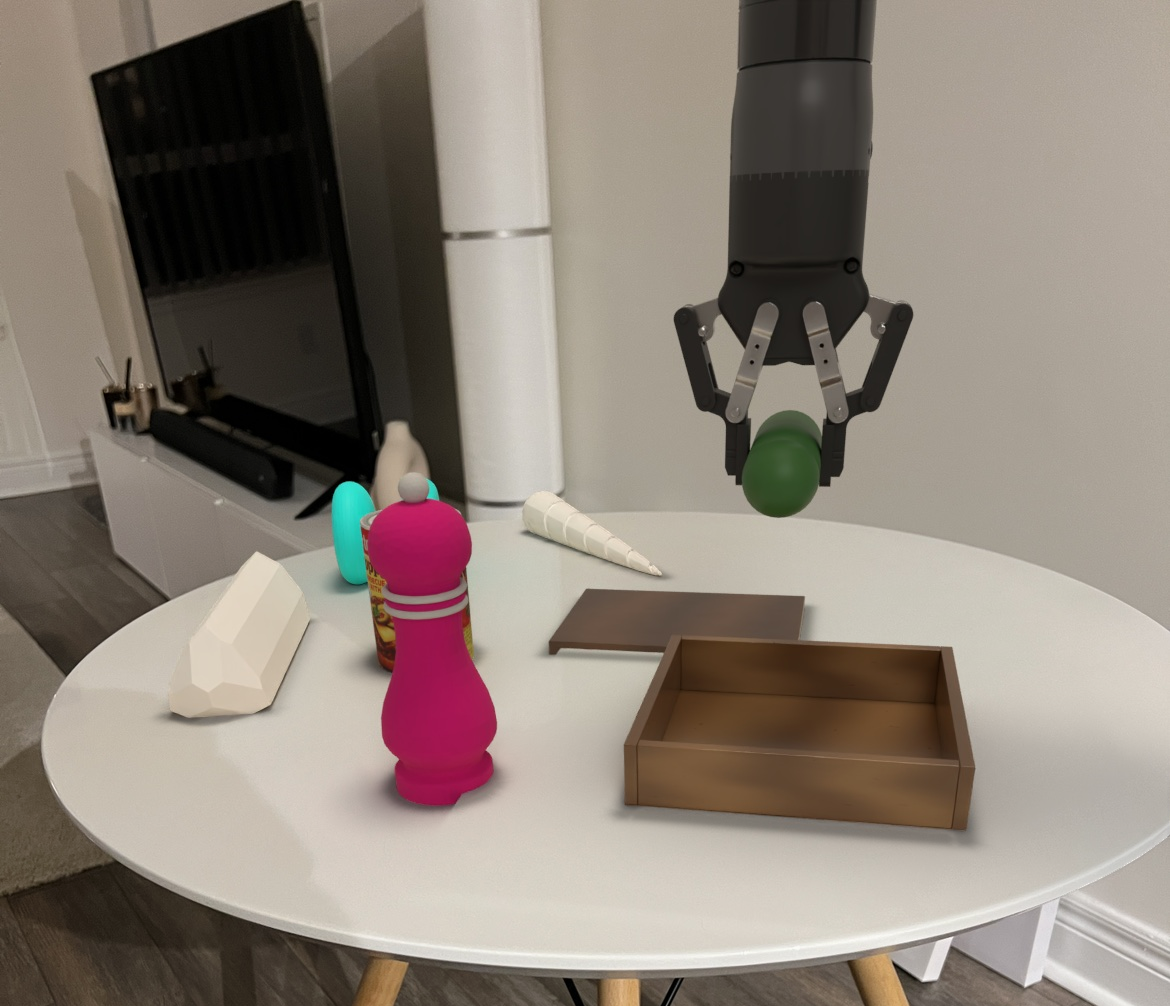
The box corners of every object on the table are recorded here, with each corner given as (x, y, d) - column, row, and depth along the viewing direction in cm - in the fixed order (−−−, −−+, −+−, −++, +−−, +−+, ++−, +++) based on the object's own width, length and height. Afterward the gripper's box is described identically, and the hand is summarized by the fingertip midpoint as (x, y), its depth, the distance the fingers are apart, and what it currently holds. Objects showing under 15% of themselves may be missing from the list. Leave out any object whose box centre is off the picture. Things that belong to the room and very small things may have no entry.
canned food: (358, 667, 90) (338, 522, 85) (424, 638, 96) (409, 500, 90) (428, 686, 86) (412, 534, 81) (493, 655, 92) (482, 511, 86)
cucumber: (755, 472, 75) (757, 404, 73) (821, 473, 74) (825, 404, 72) (737, 525, 63) (739, 446, 60) (816, 527, 62) (821, 447, 60)
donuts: (442, 592, 107) (432, 489, 103) (339, 598, 107) (324, 495, 102) (447, 563, 116) (437, 467, 111) (351, 568, 116) (338, 472, 111)
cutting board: (804, 611, 98) (805, 595, 98) (795, 670, 86) (796, 652, 86) (586, 603, 103) (585, 588, 102) (549, 658, 91) (548, 641, 90)
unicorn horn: (629, 587, 106) (628, 538, 104) (520, 535, 125) (517, 493, 123) (670, 578, 108) (670, 530, 106) (557, 529, 127) (555, 487, 125)
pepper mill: (424, 755, 75) (388, 457, 66) (520, 769, 73) (497, 461, 63) (368, 804, 69) (321, 483, 60) (471, 821, 67) (438, 490, 58)
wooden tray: (944, 712, 78) (952, 646, 76) (964, 845, 62) (975, 766, 60) (671, 697, 82) (671, 634, 80) (624, 818, 66) (623, 744, 64)
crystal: (283, 674, 79) (329, 575, 100) (185, 631, 77) (253, 540, 98) (247, 757, 82) (299, 644, 103) (152, 718, 80) (224, 611, 101)
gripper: (659, 171, 58) (659, 496, 66) (940, 158, 55) (906, 500, 63) (677, 173, 65) (676, 469, 72) (930, 162, 62) (900, 471, 70)
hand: (783, 482), depth 68 cm, fingers closed on cucumber, 4 cm apart
